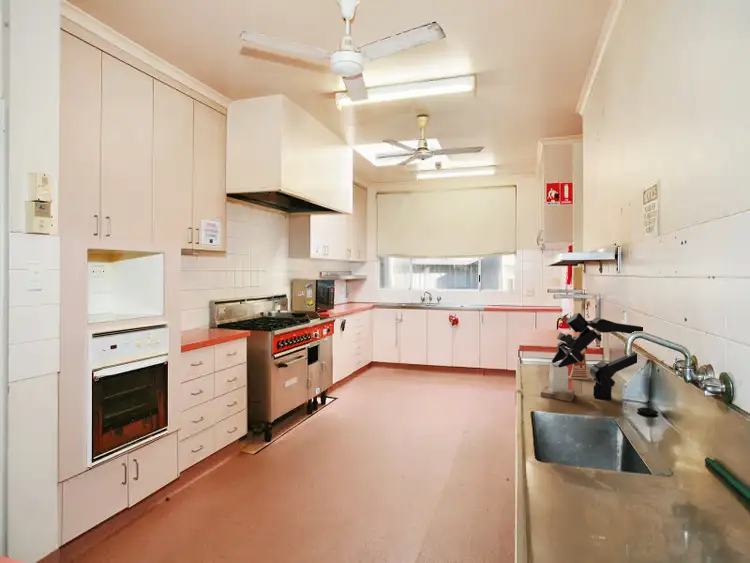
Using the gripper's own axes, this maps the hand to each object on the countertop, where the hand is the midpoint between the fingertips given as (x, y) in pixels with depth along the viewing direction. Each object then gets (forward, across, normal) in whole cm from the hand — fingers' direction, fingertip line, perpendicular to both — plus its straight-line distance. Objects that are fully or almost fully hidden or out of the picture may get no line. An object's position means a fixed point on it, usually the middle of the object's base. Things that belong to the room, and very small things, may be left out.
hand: (555, 364), depth 192 cm
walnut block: (+9, 0, +11) cm, 14 cm away
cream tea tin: (+7, 0, +9) cm, 12 cm away
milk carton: (-5, -38, +25) cm, 46 cm away
